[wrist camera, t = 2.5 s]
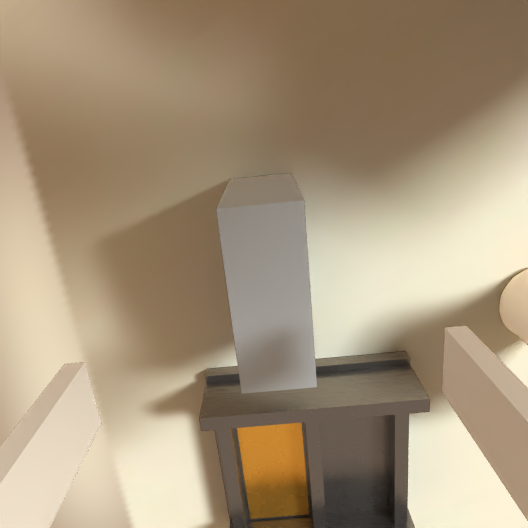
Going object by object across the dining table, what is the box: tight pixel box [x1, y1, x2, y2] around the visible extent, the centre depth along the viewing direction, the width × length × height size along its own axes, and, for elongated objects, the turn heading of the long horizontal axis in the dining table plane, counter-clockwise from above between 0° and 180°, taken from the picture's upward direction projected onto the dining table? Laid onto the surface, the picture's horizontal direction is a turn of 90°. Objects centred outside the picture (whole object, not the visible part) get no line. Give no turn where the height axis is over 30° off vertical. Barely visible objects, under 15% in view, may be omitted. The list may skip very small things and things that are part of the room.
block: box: [216, 173, 317, 394], centre depth 25 cm, size 10×4×9 cm, turn 6°
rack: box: [199, 351, 430, 528], centre depth 32 cm, size 16×15×6 cm
